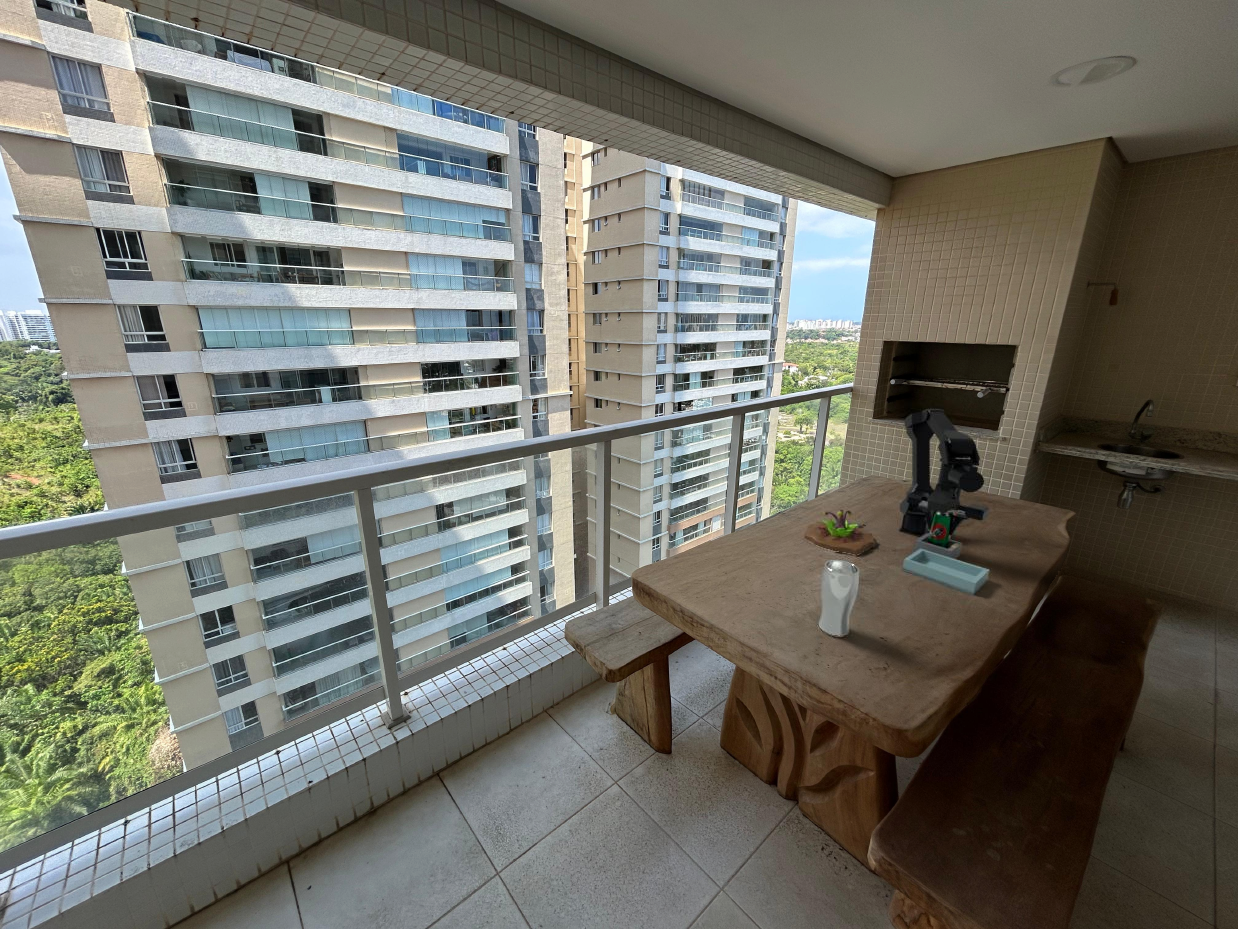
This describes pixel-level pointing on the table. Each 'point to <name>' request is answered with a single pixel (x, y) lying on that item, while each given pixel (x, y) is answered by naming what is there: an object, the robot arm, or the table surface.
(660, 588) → the table surface
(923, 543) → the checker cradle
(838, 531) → the plant
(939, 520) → the soda can
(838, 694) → the table surface
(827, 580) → the beer glass
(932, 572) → the trough
